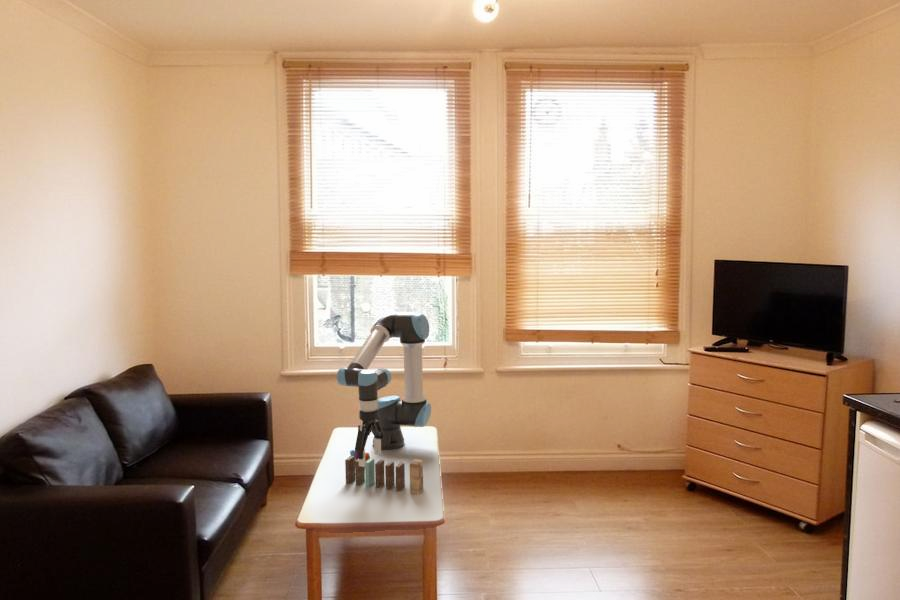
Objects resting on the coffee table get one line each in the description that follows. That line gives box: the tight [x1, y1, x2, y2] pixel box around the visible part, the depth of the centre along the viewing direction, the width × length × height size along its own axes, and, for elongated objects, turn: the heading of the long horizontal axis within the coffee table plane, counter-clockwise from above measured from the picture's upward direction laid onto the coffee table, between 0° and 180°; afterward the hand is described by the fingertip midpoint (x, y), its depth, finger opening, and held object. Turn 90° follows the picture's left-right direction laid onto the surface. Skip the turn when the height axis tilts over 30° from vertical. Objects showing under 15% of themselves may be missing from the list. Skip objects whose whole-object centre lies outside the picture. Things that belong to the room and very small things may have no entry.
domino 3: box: [374, 459, 386, 489], centre depth 246 cm, size 2×5×10 cm, turn 160°
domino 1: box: [344, 455, 356, 485], centre depth 251 cm, size 2×5×10 cm, turn 160°
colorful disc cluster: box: [348, 448, 371, 461], centre depth 271 cm, size 8×10×7 cm
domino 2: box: [354, 459, 365, 486], centre depth 250 cm, size 2×5×10 cm, turn 160°
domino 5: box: [395, 461, 406, 492], centre depth 243 cm, size 2×5×10 cm, turn 160°
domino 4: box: [384, 460, 396, 491], centre depth 245 cm, size 2×5×10 cm, turn 160°
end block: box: [409, 458, 424, 495], centre depth 241 cm, size 5×4×12 cm
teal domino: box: [364, 457, 375, 488], centre depth 248 cm, size 2×5×10 cm, turn 160°
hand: (370, 459), depth 248 cm, fingers open, 13 cm apart
